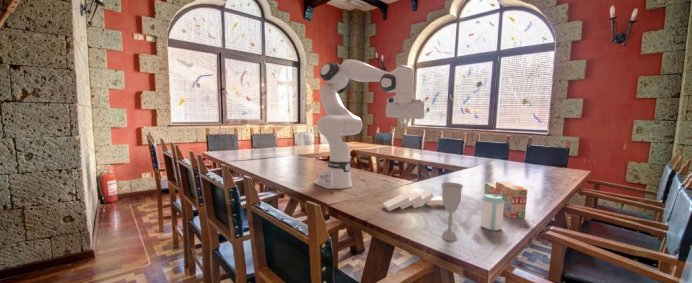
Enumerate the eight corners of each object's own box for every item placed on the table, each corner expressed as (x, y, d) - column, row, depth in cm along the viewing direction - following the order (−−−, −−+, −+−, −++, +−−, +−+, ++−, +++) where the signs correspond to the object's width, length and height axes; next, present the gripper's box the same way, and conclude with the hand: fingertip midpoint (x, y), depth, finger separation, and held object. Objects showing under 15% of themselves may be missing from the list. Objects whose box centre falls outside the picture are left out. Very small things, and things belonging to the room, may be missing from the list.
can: (480, 222, 113) (482, 192, 112) (500, 225, 110) (503, 194, 109) (481, 229, 106) (483, 197, 105) (503, 232, 104) (505, 199, 103)
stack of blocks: (483, 202, 139) (485, 176, 138) (496, 202, 139) (498, 176, 138) (509, 218, 118) (512, 188, 117) (525, 219, 118) (527, 189, 117)
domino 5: (431, 204, 130) (450, 202, 133) (424, 200, 135) (443, 198, 138) (431, 208, 130) (450, 206, 133) (424, 204, 136) (443, 202, 139)
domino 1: (388, 207, 124) (408, 197, 126) (382, 203, 129) (402, 193, 131) (389, 211, 124) (409, 201, 126) (384, 207, 129) (403, 197, 131)
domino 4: (427, 200, 129) (449, 199, 130) (423, 196, 134) (444, 196, 135) (427, 204, 129) (449, 204, 130) (423, 200, 135) (444, 200, 136)
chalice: (456, 244, 94) (459, 189, 92) (435, 238, 98) (438, 185, 97) (462, 236, 100) (466, 184, 98) (442, 231, 104) (445, 181, 102)
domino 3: (412, 204, 127) (432, 193, 129) (407, 201, 133) (426, 190, 134) (414, 208, 128) (434, 197, 129) (409, 204, 133) (428, 193, 134)
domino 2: (400, 205, 126) (420, 195, 127) (395, 201, 132) (415, 192, 133) (401, 209, 127) (422, 199, 128) (397, 205, 132) (417, 195, 133)
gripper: (427, 99, 141) (426, 127, 143) (390, 98, 154) (390, 124, 157) (421, 99, 136) (420, 129, 139) (384, 99, 149) (383, 126, 152)
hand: (404, 127), depth 148 cm, fingers closed
